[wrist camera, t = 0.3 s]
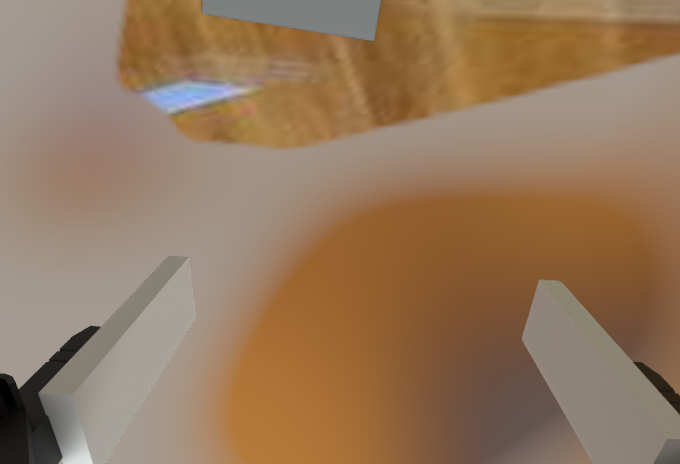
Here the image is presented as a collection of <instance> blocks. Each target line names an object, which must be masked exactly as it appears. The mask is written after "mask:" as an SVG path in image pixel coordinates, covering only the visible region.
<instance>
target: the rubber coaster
mask: <svg viewBox="0 0 680 464" xmlns="http://www.w3.org/2000/svg"><path fill="white" fill-rule="evenodd" d="M380 2H381V0H203V10H202V13H203V14H206V15H212V16H218V17H224V18H231V19H237V20H243V21H250V22H256V23H262V24H268V25H275V26H281V27H287V28H294V29H300V30H306V31H313V32H319V33H325V34H331V35H338V36H344V37H350V38H357V39H363V40H369V41H374V39H375V33H376V27H377V21H378V15H379V9H380Z"/></svg>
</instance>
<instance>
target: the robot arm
mask: <svg viewBox="0 0 680 464" xmlns="http://www.w3.org/2000/svg"><path fill="white" fill-rule="evenodd" d="M195 318H196V312H195V303H194V296H193V287H192V279H191V272H190V263H189V257H179V256H168V257H167V258H166V259H165V260H164V261H163V262H162V263H161V265H160V266H159V267H158V268H157V269H156V270H155V271H154V272H153V273H152V274H151V275H150V276H149V277H148V278H147V279H146V280H145V281H144V282H143V284H141V286H140V287H139V288H138V289H137V290H136V291H135V292H134V293H133V294H132V295H131V296H130V297H129V298H128V299H127V300H126V301H125V302H124V303H123V305H122V306H121V307H120V308H119V309H118V310H117V311H116V312H115V313H114V314H113V315H112V316H111V317H110V318H109V319H108V320H107V321H106V322H105V324H104V325H103V326H102V327H99V326H89V327H88V328H86V329H84V330H83V331H81V332H79V333H78V334H76V335H74V336H73V337H71V338H70V340H68V341H67V343H65V344H64V346H62V347H61V348H60V351H57V352H56V353H55V354H54V355H53V356H52V357H51V358H50V359H49V362H46V363H45V364H44V365H43V366H42V367H41V368H40V369H39V370H38V371H37V372H36V373H35V374H34V375H33V376H32V377H31V378H30V379H29V380H28V381H27V382H26V383H25V384H24V385H23V386H22V387H21V388H20V389H18V388H17V385H16V382H15V380H14V378H13V377H12V376H10V375H7V374H0V464H58V463H59V462H60V460H61V459H62V461H63V464H105V463H106V461H107V460H108V458H109V457H110V455H111V453H112V452H113V450H114V448H115V447H116V445H117V444H118V442H119V440H120V439H121V437H122V436H123V434H124V432H125V431H126V429H127V427H128V426H129V424H130V423H131V421H132V420H133V418H134V416H135V415H136V413H137V411H138V410H139V408H140V407H141V405H142V403H143V401H144V400H145V399H146V397H147V395H148V394H149V392H150V391H151V389H152V387H153V386H154V384H155V383H156V381H157V379H158V378H159V376H160V375H161V373H162V371H163V370H164V368H165V366H166V365H167V363H168V362H169V360H170V358H171V357H172V355H173V354H174V352H175V350H176V349H177V347H178V345H179V344H180V342H181V341H182V339H183V338H184V336H185V334H186V333H187V331H188V329H189V328H190V326H191V325H192V323H193V321H194V320H195ZM522 340H523V342H524V344H525V346H526V347H527V349H528V351H529V353H530V354H531V356H532V358H533V360H534V361H535V363H536V365H537V367H538V368H539V370H540V372H541V373H542V375H543V377H544V379H545V381H546V382H547V384H548V386H549V387H550V389H551V391H552V393H553V395H554V396H555V398H556V400H557V401H558V403H559V405H560V407H561V408H562V410H563V412H564V413H565V415H566V417H567V419H568V421H569V422H570V424H571V426H572V428H573V429H574V431H575V433H576V435H577V436H578V438H579V440H580V442H581V443H582V445H583V446H584V449H585V450H586V452H587V454H588V455H589V457H590V459H591V461H592V462H593V464H680V396H679V395H678V394H677V393H675V392H674V389H673V388H672V387H671V386H670V385H669V384H668V383H667V382H666V381H665V380H664V379H663V378H662V377H661V376H660V375H659V374H657V373H656V372H655V371H653V370H652V369H650V368H649V367H647V366H646V365H645V364H643V363H641V362H632V361H631V360H630V359H629V358H628V356H627V355H626V354H625V353H624V352H623V351H622V350H621V348H620V347H619V346H618V345H617V344H616V343H615V342H614V341H613V340H612V338H611V337H610V336H609V335H608V334H607V333H606V332H605V331H604V329H603V328H602V327H601V326H600V325H599V324H598V323H597V322H596V321H595V319H594V318H593V317H592V316H591V315H590V314H589V313H588V312H587V310H586V309H585V308H584V307H583V306H582V305H581V304H580V303H579V302H578V301H577V299H576V298H575V297H574V296H573V295H572V294H571V292H570V291H569V290H568V289H567V288H566V287H565V286H564V285H563V284H562V282H561V281H552V280H539V283H538V286H537V290H536V293H535V296H534V300H533V303H532V307H531V310H530V313H529V316H528V320H527V323H526V326H525V330H524V333H523V337H522Z"/></svg>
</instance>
